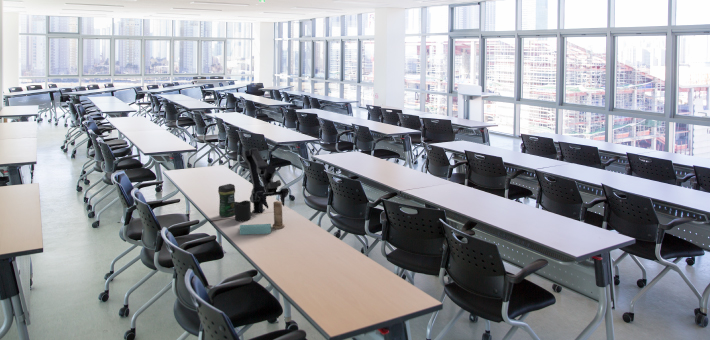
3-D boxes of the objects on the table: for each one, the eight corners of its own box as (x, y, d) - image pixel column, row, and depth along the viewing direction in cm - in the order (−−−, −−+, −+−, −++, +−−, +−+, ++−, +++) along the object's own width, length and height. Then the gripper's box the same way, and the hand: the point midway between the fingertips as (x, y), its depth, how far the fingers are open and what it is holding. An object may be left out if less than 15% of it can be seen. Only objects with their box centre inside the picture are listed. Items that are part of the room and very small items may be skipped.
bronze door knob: (274, 225, 303) (273, 200, 300) (285, 225, 302) (284, 201, 299) (271, 228, 297) (270, 203, 294) (283, 228, 296) (282, 204, 293)
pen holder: (247, 222, 308) (246, 205, 306) (232, 221, 310) (231, 204, 308) (253, 217, 317) (253, 200, 315) (238, 216, 319) (237, 199, 317)
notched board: (241, 227, 299) (241, 220, 298) (270, 226, 301) (270, 219, 300) (239, 234, 287) (239, 227, 286) (270, 233, 289) (270, 226, 288)
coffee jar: (226, 218, 315) (224, 187, 311) (217, 215, 320) (215, 185, 316) (238, 214, 323) (237, 184, 319) (230, 212, 327) (228, 182, 323)
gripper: (255, 177, 297) (262, 201, 289) (287, 173, 305) (295, 197, 298) (251, 188, 305) (258, 212, 298) (282, 184, 314) (290, 207, 306)
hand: (276, 207), depth 300 cm, fingers open, 9 cm apart
